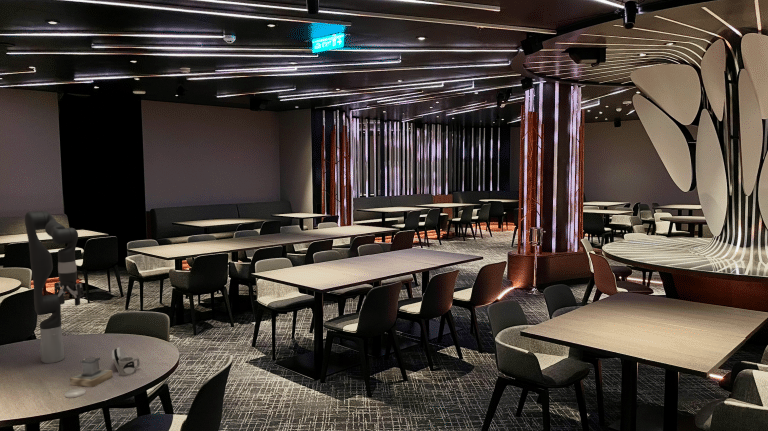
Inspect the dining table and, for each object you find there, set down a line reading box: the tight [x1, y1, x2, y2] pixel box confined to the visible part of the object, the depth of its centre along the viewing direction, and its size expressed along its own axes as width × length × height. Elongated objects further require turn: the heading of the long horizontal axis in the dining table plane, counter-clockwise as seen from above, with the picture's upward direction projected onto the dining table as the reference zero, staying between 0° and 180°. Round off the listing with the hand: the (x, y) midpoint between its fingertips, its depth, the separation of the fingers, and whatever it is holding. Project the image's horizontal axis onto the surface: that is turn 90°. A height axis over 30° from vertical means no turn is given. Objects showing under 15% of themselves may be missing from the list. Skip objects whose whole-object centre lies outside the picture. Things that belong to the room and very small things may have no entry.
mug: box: [118, 356, 141, 377], centre depth 265 cm, size 10×7×7 cm, turn 148°
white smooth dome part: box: [64, 387, 87, 399], centre depth 241 cm, size 8×8×1 cm
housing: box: [80, 356, 102, 377], centre depth 255 cm, size 6×6×7 cm
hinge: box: [111, 346, 130, 373], centre depth 273 cm, size 17×5×10 cm, turn 23°
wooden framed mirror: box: [69, 368, 114, 388], centre depth 255 cm, size 12×12×3 cm
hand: (69, 304), depth 265 cm, fingers open, 8 cm apart
